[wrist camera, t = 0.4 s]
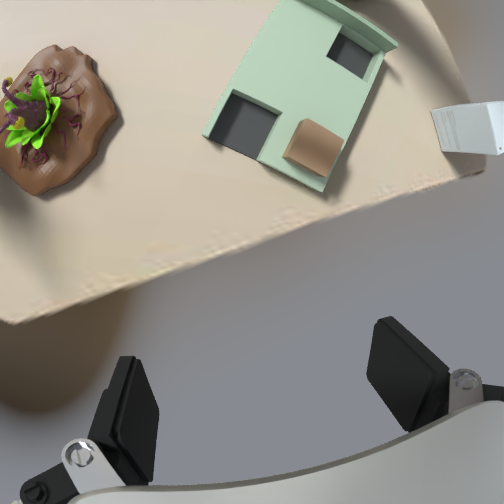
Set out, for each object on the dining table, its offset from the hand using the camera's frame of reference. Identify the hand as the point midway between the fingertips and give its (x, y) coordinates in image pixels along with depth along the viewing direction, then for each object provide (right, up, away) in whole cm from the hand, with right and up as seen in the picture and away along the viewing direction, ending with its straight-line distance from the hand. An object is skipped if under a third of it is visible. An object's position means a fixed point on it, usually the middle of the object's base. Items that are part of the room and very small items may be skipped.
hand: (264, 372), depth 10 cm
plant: (-28, +23, +19) cm, 41 cm away
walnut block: (+6, +17, +23) cm, 29 cm away
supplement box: (+32, +26, +27) cm, 49 cm away
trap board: (+6, +26, +22) cm, 35 cm away
